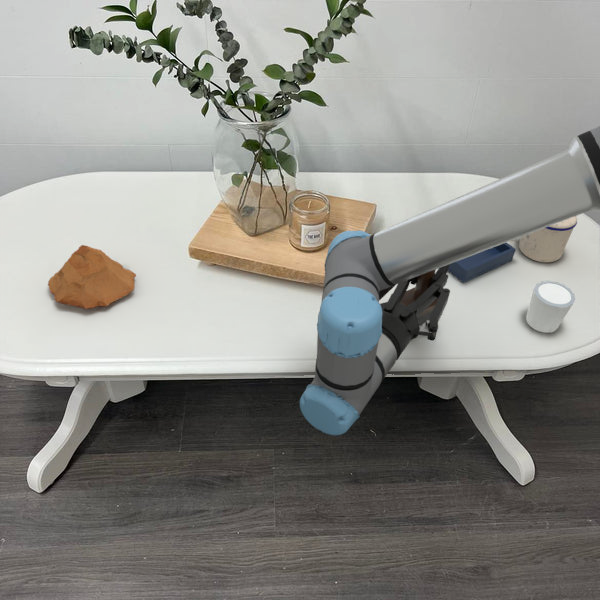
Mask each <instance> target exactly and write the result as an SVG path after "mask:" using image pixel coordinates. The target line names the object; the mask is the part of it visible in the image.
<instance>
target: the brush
mask: <svg viewBox="0 0 600 600" xmlns="http://www.w3.org/2000/svg"><path fill="white" fill-rule="evenodd" d="M436 272H437V269H435V270H433V271H430V272H427V273H425V274H422V275H419V276H418V277H417V281H416V284H415V285H414V287H412V288H410V289H407V290H406V292H405V294H404V296H403V298H402V300H401V302H400V303H401V304H402V305H405V306H408V305H409V304H410V303H411V302H414V301H416V300H417V299H418V298H419V297H420V296H421V295H422V294H423V293H424V292H425V291H426V290H427V289H428V288H429V287H430V283H431V279H432V277H433V276H434V275H435V273H436ZM437 300H438V299H435V300H434V301H433V302H432V303H431V304H430V305H429V306H428V307H427V308H426V309H425V310H424V311H423V312H422V313H421V314H420V315H419V316H418V318H417V320H418V323H419V326H423V324H424V323H425V322H426V321H427V320H429V318H430V315H431V313H432V311H433V309H434V307H435V304H436V302H437Z"/></svg>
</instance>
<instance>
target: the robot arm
mask: <svg viewBox="0 0 600 600" xmlns="http://www.w3.org/2000/svg"><path fill="white" fill-rule="evenodd" d="M591 211H594V212H597V213H600V125H599V126H597V127H595V128H591V129H590V130H588V131H587V130H586V131H585V132H583V133H580V134H579V135H576V136H574V137H573V139H572V141H571V143H570V145H569V146H568V148H567V149H566V150H563V151H561V152H559V153H557V154H554V155H552V156H550V157H547V158H545V159H542V160H541V161H538V162H536V163H534V164H531V165H529V166H526V167H525V168H522V169H520V170H518V171H516V172H513V173H510V174H508V175H505V176H504V177H501V178H498V179H496V180H495V181H492V182H490V183H487V184H485V185H483V186H481V187H479V188H476V189H474V190H472V191H469V192H466V193H465V194H463V195H460V196H458V197H455V198H454V199H451V200H449V201H446V202H444V203H442V204H440V205H439V204H438V206H434V207H433V208H430V209H428V210H426V211H423V212H421V213H419V214H417V215H415V216H412V217H409V218H407V219H405V220H403V221H401V222H400V221H399V222H398V223H396V224H394V225H391V226H389V227H387V228H385V229H382V230H380V231H378V232H376V233H373V234H369V233H368V232H366V231H364V230H345V231H342V232H341V233H339V234H337V235H336V236H334V238H333V239H332V240H331V242H330V244H329V246H328V249H327V254H326V256H325V260H324V280H323V289H322V294H321V303H320V306H319V312H318V315H317V322H316V331H317V339H316V340H317V341H316V359H315V366H314V367H315V368H314V369H315V370H314V377H313V380H312V382H311V383H310V384H308V385H306V388H305V390H304V391H303V393H302V395H301V396H300V398H299V408H300V411H301V413H302V415H303V417H304V418H305V420H306V421H307V422H308V423H309V424H310V425H311V426H312V427H313V428H315V429H316V430H317V431H320V432H322V433H324V434H326V435H330V436H341V435H343V434H345V433H347V432H348V430H349V429H350V428H351V427H352V426H353V425H354V423H355V422H356V421H357V420H359V419H360V415H361V413H362V412H363V411H364V409H365V407H366V406H367V404H368V403H369V401H370V400H371V399H372V397H373V396H374V394H375V392H376V391H377V390H378V388H379V387H380V385H381V384H382V382H383V381H384V379H385V378H386V377H387V375H388V374H389V372H390V371H391V370H392V368H393V367H394V365H395V364H396V362H397V361H398V359H399V358H400V357H401V355H402V354H403V353H404V352H405V350H406V348H407V346H408V345H409V344H410V342H411V341H413V340H415V339H417V338H418V337H419V336H423V337H426V338H427V340H428V341H430V342H433V341H435V340H436V337H437V334H438V330H439V321H441V320H440V319H441V318H442V315H443V313H444V311H445V309H446V306H447V304H448V301H449V297H450V293H451V290H450V289H449V288H447V287H445V286H446V285H447V283H448V279H449V274H448V273H449V271H448V269H449V265H450V264H451V263H454V262H456V261H459V260H461V259H464V258H467V257H469V256H472V255H475V254H477V253H480V252H482V251H485V250H488V249H490V248H493V247H496V246H498V245H501V244H503V243H506V242H507V243H508V242H511V241H514V240H516V239H519V238H521V237H522V236H525V235H527V234H530V233H532V232H535V231H538V230H540V229H543V228H546V227H548V226H551V225H553V224H556V223H559V222H561V221H564V220H567V219H569V218H572V217H574V216H580V215H582V214H584V213H587V212H591ZM435 269H436V271H435V275H434V276H433V277H432V279H431V283H430V287H429V288H428V289H427V290H426V291H425V292H424V293H423V294H422V295H421V296H420V297H419V298H418V299H417V300H416V301H414V302H411V303H410V304H409V305H408V306H405V305H402V304H401V303H400V302H401V300H402V298H403V296H404V294H405V292H406V291H408V288H409V287H410V285H412V286H416V281H417V277H418V276H419V275H422V274H425V273H427V272H430V271H433V270H435ZM394 287H395V288H394ZM393 288H394V290H393V292H392V293H391V294H390V297H389V298H388V300H387V301H385V302H382V303H381V302H380V301H381V300H382V299H383V298H384V297H385V296H386V295H387V294H388V293H389V292H390V291H392V289H393ZM435 299H438V300H437V302H436V304H435V307H434V309H433V311H432V313H431V315H430V318H429V320H427V321H426V322H425V323H424V324H422V325H420V326H419V323H418V320H417V318H418V316H419V315H420V314H421V313H422V312H423V311H424V310H425V309H426V308H427V307H428V306H429V305H430V304H431V303H432V302H433V301H434V300H435Z"/></svg>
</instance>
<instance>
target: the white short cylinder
mask: <svg viewBox="0 0 600 600" xmlns="http://www.w3.org/2000/svg"><path fill="white" fill-rule="evenodd" d="M575 301H576V296H575V293H574V292H573V291H572V289H570V288H569V287H568V286H566V285H565V284H563V283H560V282H559V281H552V280H544V281H543V280H542V281H540V282H537V283H536V284H535V286H534V288H533V291H532V295H531V297H530V302H529V305H528V309H527V312H526V316H525V320H526V323H527V324H528V326H530V327H531V328H532V329H533V330H535V331H537V332H540V333H544V334H545V333H546V334H550V333H554V332H556V331H557V330H558V328H559V327H560V325H561V323H562V322H563V321H564V319H565V317H566V316H567V315H568V313H569V311H570V310H571V308H572V307H573V305H574V303H575Z"/></svg>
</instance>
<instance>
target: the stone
mask: <svg viewBox="0 0 600 600" xmlns="http://www.w3.org/2000/svg"><path fill="white" fill-rule="evenodd" d="M136 277H137V274H136V273H135V272H134V271H132V270H130V269H127V268H124V266H123V265H122V264H120V262H118V261H117V260H114V259H112V258H110V256H109V255H107V254H106V253H105V252H104V251H103V250H101V249H98V248H94V247H92V246H88V245H84V244H81V245H80V246H79V247H78V249H76V250H75V251H74V252H72V254H71V255H70V257H69V258H68V259H67V261H65V262H64V264H63V265H62V267H61V268H60V269H59V270H57V272H56V273H54V275H53V276H51V277H50V278H49V280H48V282H47V286H48V288H49V289H48V290H49V291H50V293H51V294H52V295H54V298H53V300H54V301H55V302H57V303H59V304H62V305H68V306H73V307H77V308H82V309H84V310H86V309H94V308H96V307H107V306H108V307H109V306H110V305H111V304H112V303H114V302H116V301H118V300H119V299H122V298H124V297H126V296H128V295H129V294H131V292H133V291H134V290H135V287H136V286H135V280H134V279H135V278H136Z"/></svg>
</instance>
